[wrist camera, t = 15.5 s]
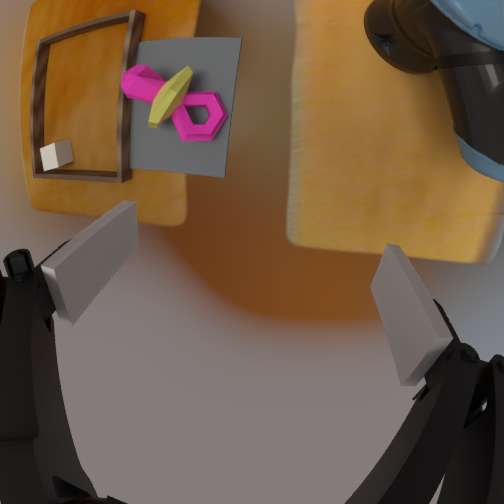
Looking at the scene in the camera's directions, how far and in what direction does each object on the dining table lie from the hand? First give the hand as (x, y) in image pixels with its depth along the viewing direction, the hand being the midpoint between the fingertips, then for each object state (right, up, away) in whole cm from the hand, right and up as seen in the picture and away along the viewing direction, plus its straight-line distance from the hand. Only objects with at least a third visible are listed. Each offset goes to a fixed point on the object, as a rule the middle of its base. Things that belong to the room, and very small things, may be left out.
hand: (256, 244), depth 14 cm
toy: (-12, +24, +25) cm, 37 cm away
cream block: (-40, +21, +32) cm, 55 cm away
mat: (-12, +24, +26) cm, 37 cm away
